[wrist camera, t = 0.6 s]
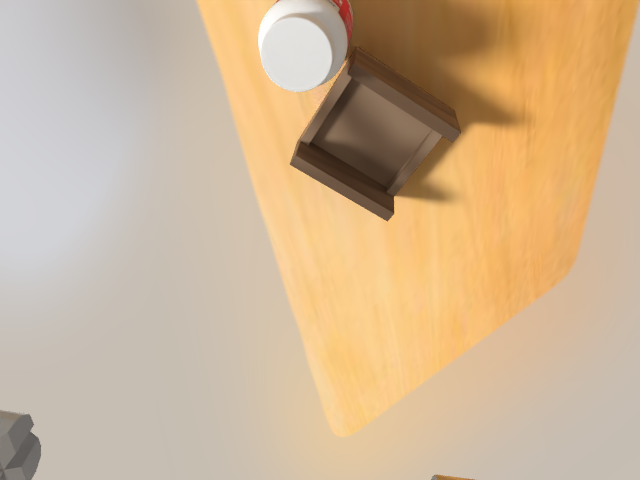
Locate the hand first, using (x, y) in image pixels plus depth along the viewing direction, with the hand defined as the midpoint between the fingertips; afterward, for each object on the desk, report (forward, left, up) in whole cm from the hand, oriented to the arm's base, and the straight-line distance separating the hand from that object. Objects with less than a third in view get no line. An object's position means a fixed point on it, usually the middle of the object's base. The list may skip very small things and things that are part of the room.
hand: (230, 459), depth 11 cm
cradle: (+6, +7, -39) cm, 40 cm away
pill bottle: (+1, -2, -39) cm, 39 cm away
